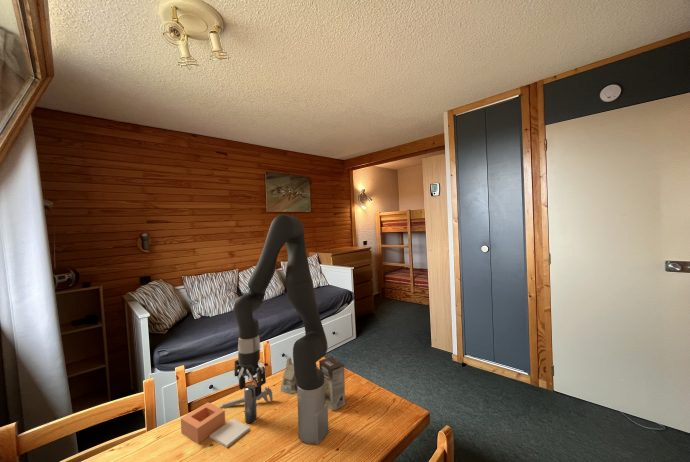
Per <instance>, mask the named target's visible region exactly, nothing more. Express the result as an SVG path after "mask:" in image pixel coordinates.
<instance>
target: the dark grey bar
mask: <svg viewBox="0 0 690 462" xmlns="http://www.w3.org/2000/svg"><path fill="white" fill-rule="evenodd" d="M243 390H244V393H243V394H244V397H243V398H245V402H244V421H245V423H244V424H246V425H252V424H253V423H255V422H256V421H257V420H258V416H257V400H256V396H255V385H254V383H252V384H247V385H245V388H243Z"/></svg>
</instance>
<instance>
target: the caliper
mask: <svg viewBox="0 0 690 462" xmlns="http://www.w3.org/2000/svg"><path fill="white" fill-rule="evenodd" d="M269 386H270V385H269ZM269 386H266V387H265V389H264V390H261V394H260V395H259V396H257V397H256V401H259V400H261V399H264V400H263V401H265V403H266V404H267V403H268V402H269V400H270V403H272V402H273V392H272V391H273V390H272V388H270V387H269ZM268 397H269V400H268ZM243 403H245V398H244V397H241V398H238V399H234V400H230V401H228V402H224V403H222V405H220V406H218V407H219V408H221V409H227V408H230V407H233V406H236V405H240V404H243Z"/></svg>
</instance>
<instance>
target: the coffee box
mask: <svg viewBox="0 0 690 462" xmlns="http://www.w3.org/2000/svg"><path fill="white" fill-rule="evenodd" d="M318 362H319V363H318V365H319V367H318V369H320V370H321V371H322V372H323V373H324V385H325V404H327V405H328V409H330V410H331V411H332V412H333V411H336V410H338V409H339V408H341V407H344V406H345V405H346V395H345V394H346V391H345V389H346V388H345V385H346V384H345V383H346V381H345V364H344V363H343V362H341V361H339V360H338V359H336V358H334V357H333V356H330V357H326V358H324V359H320V360H318Z"/></svg>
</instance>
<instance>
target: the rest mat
mask: <svg viewBox="0 0 690 462" xmlns="http://www.w3.org/2000/svg"><path fill="white" fill-rule="evenodd" d="M250 429H251V427H250V426H248V425H247V424H245V423H242V422H240V421H238V420H236V419H235V418H232V419H230V420H229V421H228V422H225V425H223V426H222V427H221V428H219V429H218V430H216V431H215V432H214V433H212V434H211V435H209V438H210V439H212V440H213V441H215V442H216V443H218V444H220V445H221V446H223V447H225V448H226V449H227V448H228V447H230V446H231V445H233V444H234V443H235V442H236V441H237V440H239V439H240V438H242V436H244V435H245V434H246V433H247V432H248V431H251V430H250Z"/></svg>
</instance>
